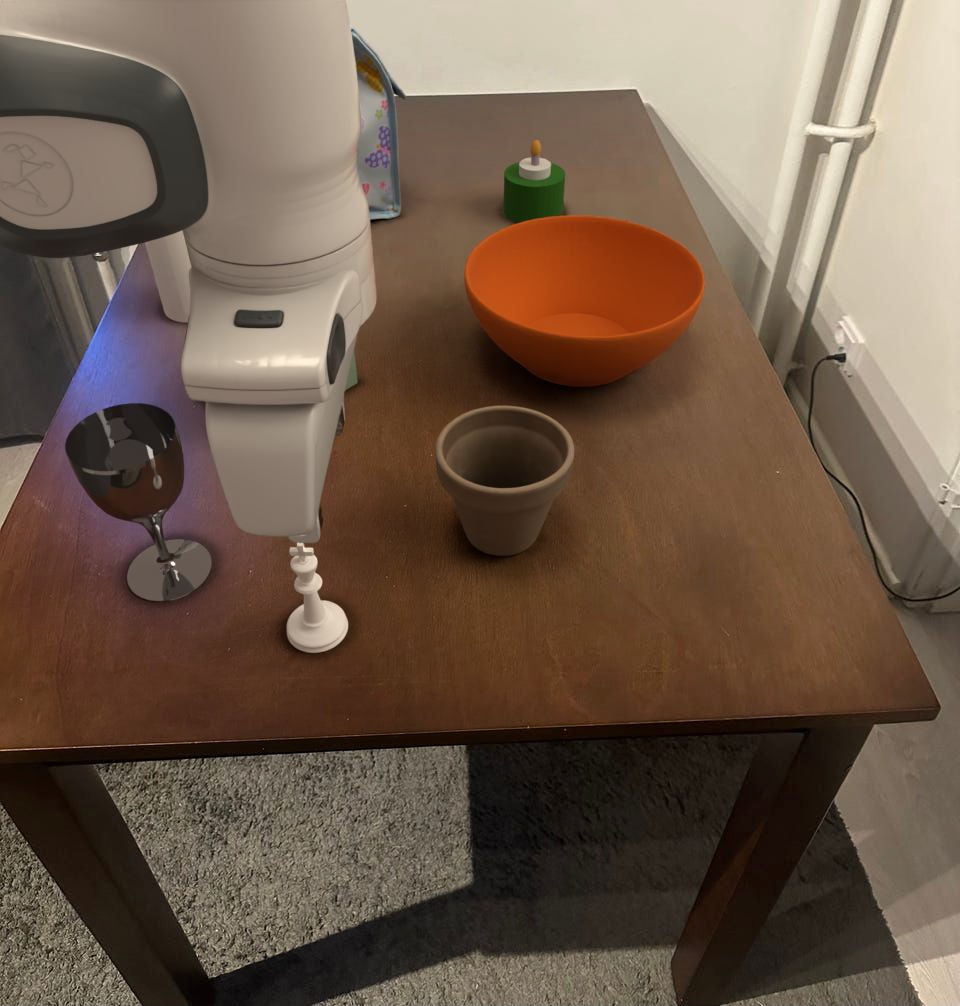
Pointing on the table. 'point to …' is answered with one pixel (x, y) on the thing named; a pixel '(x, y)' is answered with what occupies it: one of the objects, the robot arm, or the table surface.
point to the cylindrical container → (171, 274)
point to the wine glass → (140, 491)
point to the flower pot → (503, 473)
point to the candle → (533, 188)
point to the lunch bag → (377, 132)
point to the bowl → (583, 295)
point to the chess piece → (313, 608)
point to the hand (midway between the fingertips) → (319, 478)
